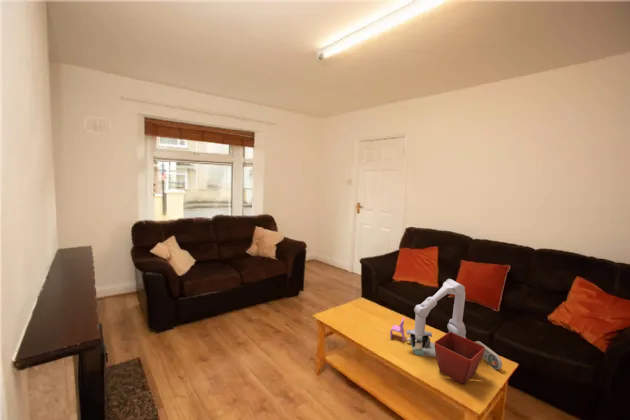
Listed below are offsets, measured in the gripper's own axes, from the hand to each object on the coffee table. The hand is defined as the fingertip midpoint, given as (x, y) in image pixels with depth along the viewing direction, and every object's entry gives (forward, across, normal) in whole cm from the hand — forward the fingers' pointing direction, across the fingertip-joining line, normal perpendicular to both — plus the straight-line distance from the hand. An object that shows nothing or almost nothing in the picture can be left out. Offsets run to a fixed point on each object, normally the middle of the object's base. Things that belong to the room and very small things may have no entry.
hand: (418, 346), depth 170 cm
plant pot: (+4, -16, +16) cm, 23 cm away
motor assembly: (+4, -4, -3) cm, 6 cm away
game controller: (+4, -38, +2) cm, 39 cm away
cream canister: (+2, 0, 0) cm, 2 cm away
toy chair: (+4, +10, -13) cm, 17 cm away
